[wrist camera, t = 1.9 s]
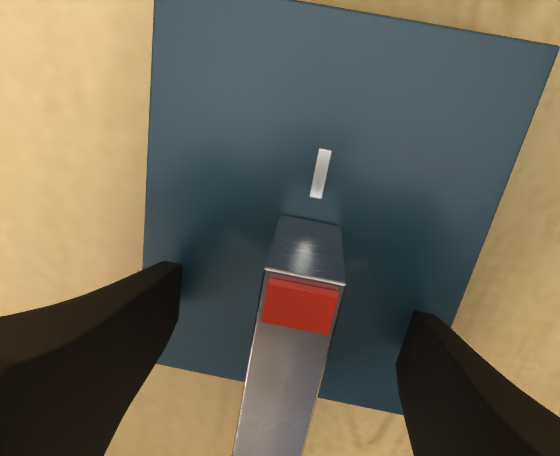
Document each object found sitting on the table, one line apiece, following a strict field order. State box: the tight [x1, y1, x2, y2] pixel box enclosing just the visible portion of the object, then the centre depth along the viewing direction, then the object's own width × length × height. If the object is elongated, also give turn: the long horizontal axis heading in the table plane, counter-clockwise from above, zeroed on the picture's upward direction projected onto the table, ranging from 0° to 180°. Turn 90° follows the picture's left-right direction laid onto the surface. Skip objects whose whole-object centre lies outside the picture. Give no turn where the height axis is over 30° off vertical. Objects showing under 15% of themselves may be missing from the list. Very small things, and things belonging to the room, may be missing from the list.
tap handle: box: [232, 215, 347, 456], centre depth 11 cm, size 6×2×4 cm, turn 171°
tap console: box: [137, 0, 560, 415], centre depth 13 cm, size 14×10×3 cm
